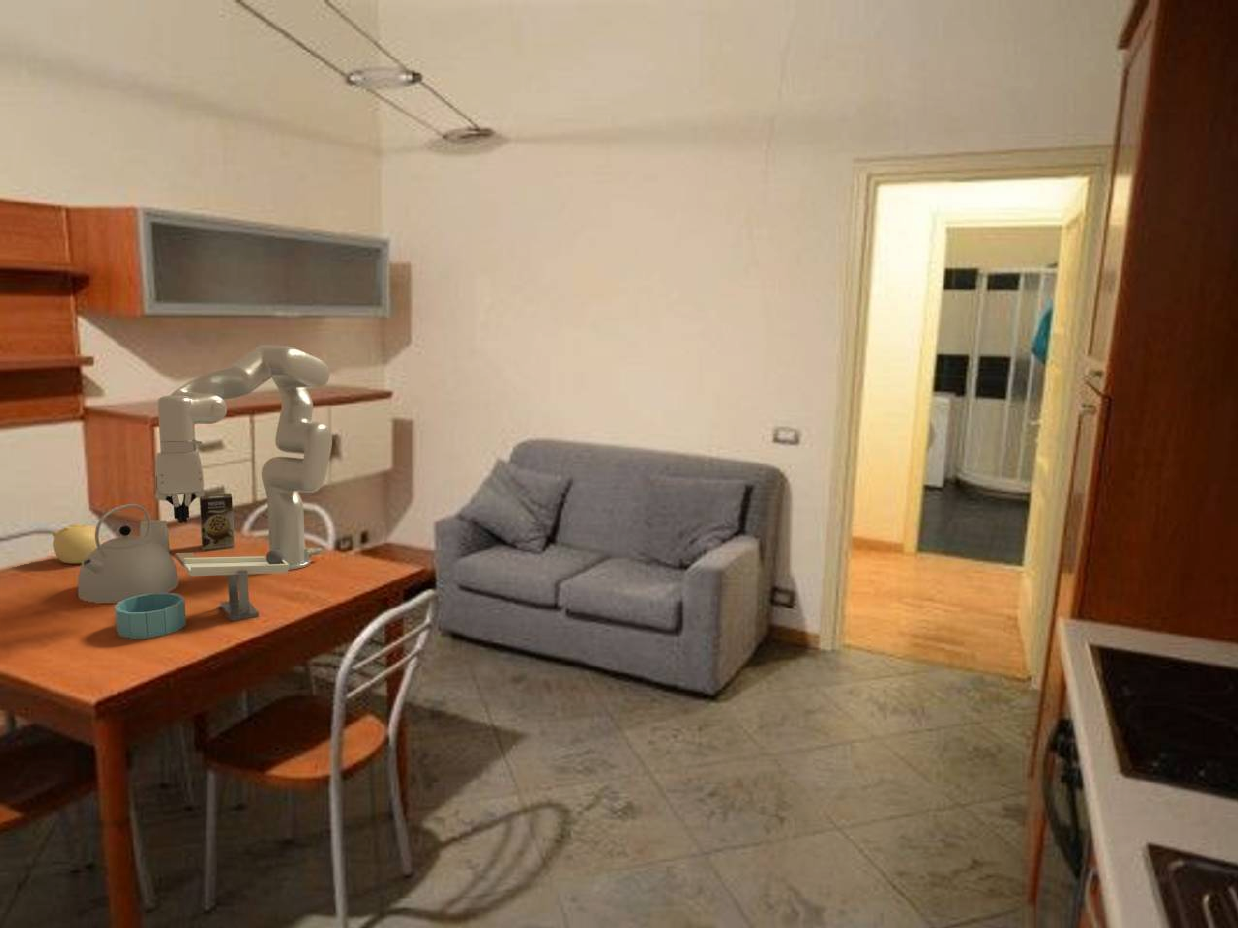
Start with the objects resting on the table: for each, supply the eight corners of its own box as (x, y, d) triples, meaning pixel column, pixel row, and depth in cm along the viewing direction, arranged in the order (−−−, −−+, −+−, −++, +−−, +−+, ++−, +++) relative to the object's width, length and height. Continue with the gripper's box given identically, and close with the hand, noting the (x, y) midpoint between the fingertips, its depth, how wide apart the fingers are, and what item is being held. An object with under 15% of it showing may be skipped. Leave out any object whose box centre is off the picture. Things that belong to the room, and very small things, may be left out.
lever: (267, 559, 219) (268, 547, 219) (288, 578, 205) (289, 564, 205) (174, 561, 206) (175, 548, 205) (190, 581, 191) (191, 567, 191)
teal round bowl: (178, 612, 201) (176, 589, 200) (190, 630, 191) (188, 605, 190) (113, 624, 193) (111, 599, 192) (122, 643, 183) (120, 617, 182)
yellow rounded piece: (98, 552, 247) (95, 517, 245) (106, 562, 238) (103, 526, 236) (52, 559, 240) (48, 523, 238) (59, 569, 231) (55, 532, 229)
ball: (277, 564, 209) (282, 549, 210) (282, 568, 206) (287, 552, 206) (261, 561, 207) (266, 546, 207) (266, 566, 204) (271, 550, 204)
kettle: (126, 611, 202) (119, 521, 198) (48, 602, 207) (39, 514, 202) (197, 579, 226) (192, 499, 222) (126, 572, 231) (119, 493, 227)
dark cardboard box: (202, 550, 252) (199, 499, 249) (202, 545, 258) (198, 494, 255) (235, 547, 256) (232, 496, 253) (234, 542, 262) (231, 492, 259)
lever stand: (246, 601, 210) (243, 558, 208) (259, 616, 201) (256, 570, 199) (220, 606, 206) (217, 562, 204) (232, 621, 197) (229, 574, 195)
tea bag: (166, 554, 247) (164, 522, 246) (141, 555, 246) (138, 523, 244) (169, 551, 251) (167, 519, 249) (144, 552, 249) (142, 519, 247)
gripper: (208, 443, 207) (211, 515, 210) (140, 447, 198) (144, 522, 201) (215, 447, 201) (219, 521, 204) (145, 451, 192) (150, 528, 195)
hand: (182, 521), depth 202 cm, fingers closed
